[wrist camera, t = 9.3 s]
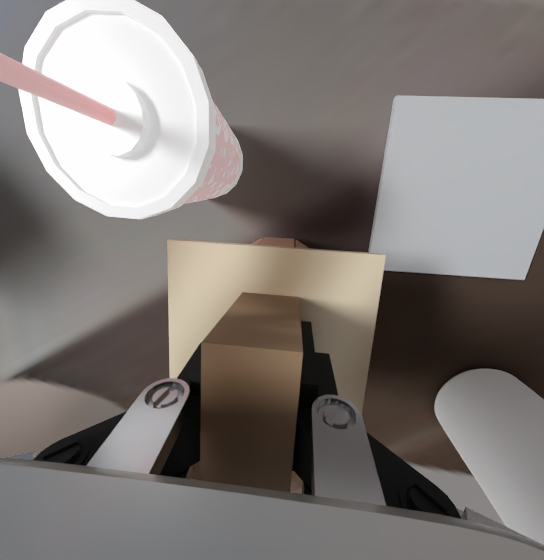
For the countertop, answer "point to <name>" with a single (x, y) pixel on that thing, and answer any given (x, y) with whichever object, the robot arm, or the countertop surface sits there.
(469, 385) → the can
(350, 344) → the lid
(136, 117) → the beverage cup
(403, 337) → the countertop surface
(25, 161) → the countertop surface
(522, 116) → the mat
